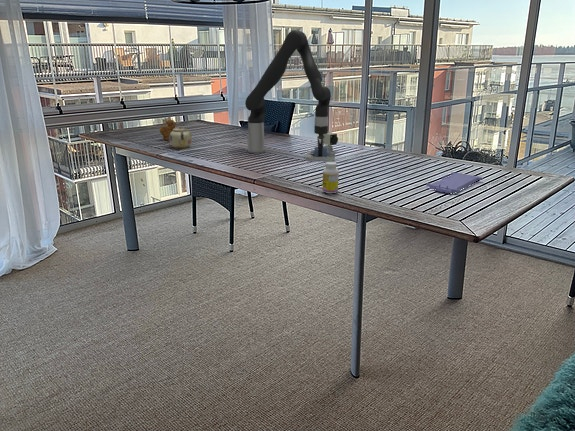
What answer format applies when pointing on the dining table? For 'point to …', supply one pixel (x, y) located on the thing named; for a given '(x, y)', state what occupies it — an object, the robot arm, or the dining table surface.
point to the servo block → (324, 151)
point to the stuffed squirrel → (167, 129)
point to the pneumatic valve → (330, 140)
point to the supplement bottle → (330, 178)
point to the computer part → (453, 182)
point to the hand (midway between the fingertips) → (320, 155)
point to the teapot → (180, 138)
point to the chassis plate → (320, 157)
